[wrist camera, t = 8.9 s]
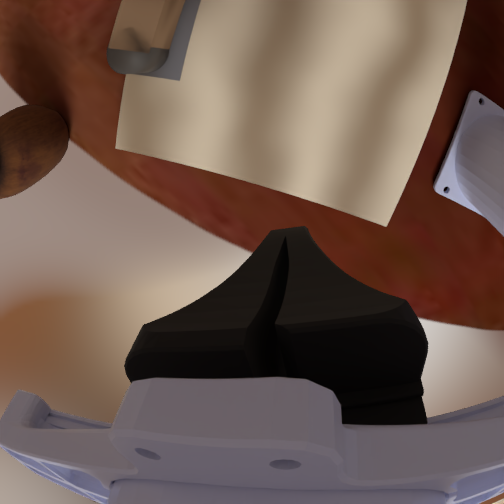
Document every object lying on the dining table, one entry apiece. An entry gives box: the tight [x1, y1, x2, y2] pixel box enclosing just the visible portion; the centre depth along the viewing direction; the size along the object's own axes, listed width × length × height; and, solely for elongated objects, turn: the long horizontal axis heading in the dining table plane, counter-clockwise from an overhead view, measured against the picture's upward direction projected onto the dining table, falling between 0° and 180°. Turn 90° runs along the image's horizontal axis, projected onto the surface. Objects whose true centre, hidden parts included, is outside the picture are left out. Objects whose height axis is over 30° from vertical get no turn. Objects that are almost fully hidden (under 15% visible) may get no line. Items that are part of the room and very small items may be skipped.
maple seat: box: [116, 0, 467, 226], centre depth 14 cm, size 18×20×3 cm
